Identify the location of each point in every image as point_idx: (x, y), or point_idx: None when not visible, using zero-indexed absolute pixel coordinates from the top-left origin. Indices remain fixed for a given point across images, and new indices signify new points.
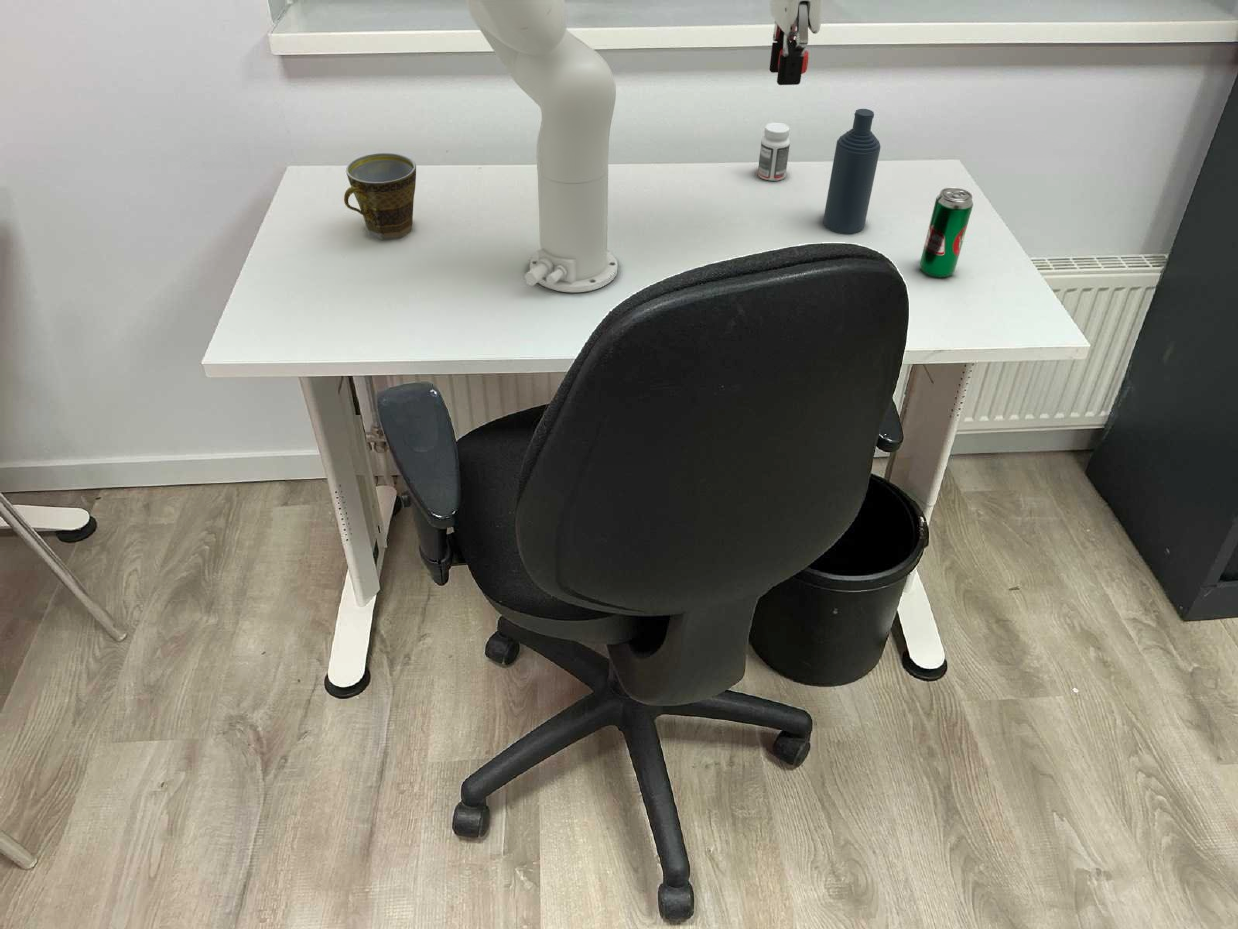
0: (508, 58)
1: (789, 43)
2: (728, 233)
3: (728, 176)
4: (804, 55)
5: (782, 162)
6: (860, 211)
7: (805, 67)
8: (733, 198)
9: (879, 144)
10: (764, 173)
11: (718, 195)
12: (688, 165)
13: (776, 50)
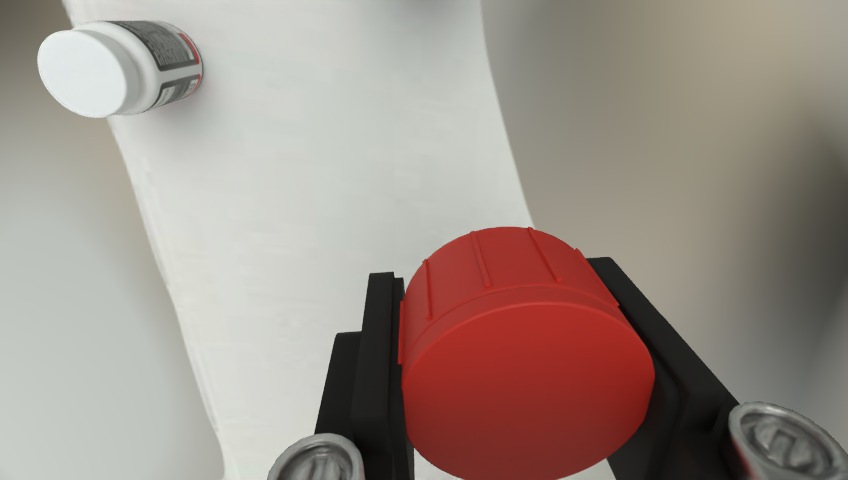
0: None
1: (395, 456)
2: (461, 199)
3: (198, 169)
4: (629, 347)
5: (171, 45)
6: None
7: (589, 265)
8: (308, 171)
9: None
10: (192, 89)
11: (298, 200)
12: (163, 246)
13: (413, 477)
